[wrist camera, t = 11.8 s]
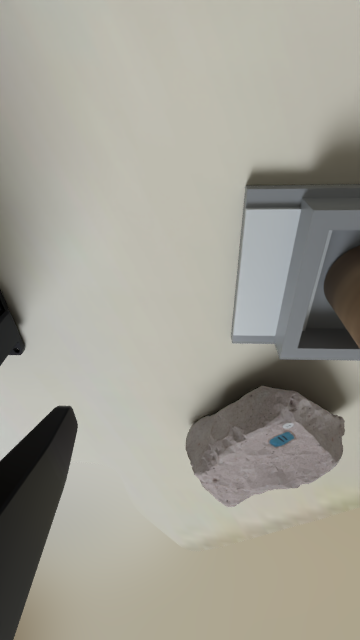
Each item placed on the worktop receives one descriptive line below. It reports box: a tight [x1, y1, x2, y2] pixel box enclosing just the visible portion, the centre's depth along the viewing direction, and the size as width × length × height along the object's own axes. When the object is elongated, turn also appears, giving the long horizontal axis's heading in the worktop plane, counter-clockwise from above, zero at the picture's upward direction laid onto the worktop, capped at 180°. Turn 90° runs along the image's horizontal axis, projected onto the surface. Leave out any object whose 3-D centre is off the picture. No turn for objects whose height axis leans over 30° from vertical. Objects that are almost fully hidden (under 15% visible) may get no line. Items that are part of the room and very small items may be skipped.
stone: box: [186, 386, 345, 507], centre depth 28 cm, size 13×10×6 cm
